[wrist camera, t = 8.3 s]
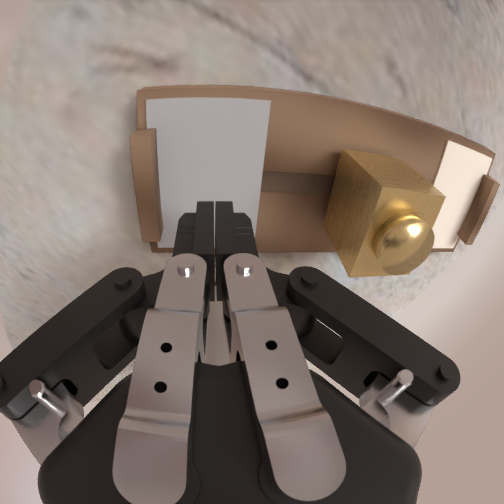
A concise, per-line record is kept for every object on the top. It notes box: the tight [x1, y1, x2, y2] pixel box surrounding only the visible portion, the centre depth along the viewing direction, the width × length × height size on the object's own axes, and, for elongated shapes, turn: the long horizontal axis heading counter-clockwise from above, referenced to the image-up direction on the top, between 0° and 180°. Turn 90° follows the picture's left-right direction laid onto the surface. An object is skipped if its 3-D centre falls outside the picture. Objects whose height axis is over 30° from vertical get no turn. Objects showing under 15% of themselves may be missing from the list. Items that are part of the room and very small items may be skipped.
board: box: [130, 85, 500, 252], centre depth 16 cm, size 10×25×3 cm, turn 85°
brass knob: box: [323, 148, 446, 277], centre depth 13 cm, size 5×4×6 cm
